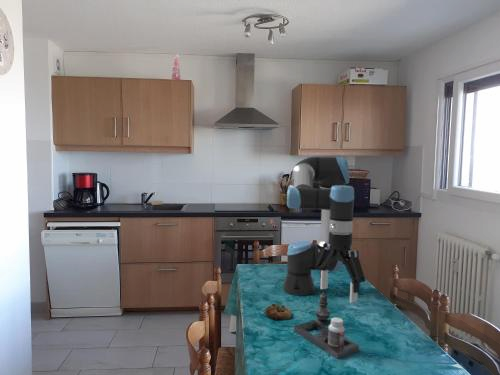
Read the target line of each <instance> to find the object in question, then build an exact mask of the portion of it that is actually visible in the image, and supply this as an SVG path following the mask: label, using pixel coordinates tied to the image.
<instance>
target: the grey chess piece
mask: <svg viewBox="0 0 500 375" xmlns="http://www.w3.org/2000/svg"><path fill="white" fill-rule="evenodd" d="M328 305H329V304H328V296H327V294H325V292H324V291H323V292H322V293H321V294H320V295H319V301H318V309H317V310H315V312H314V313H315V315H316V319H315V321H317V322H319V323H320V324H322V325H324V326H325V325H330V321H329V318H330V315H331V312H330V311H329V310H328Z"/></svg>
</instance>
